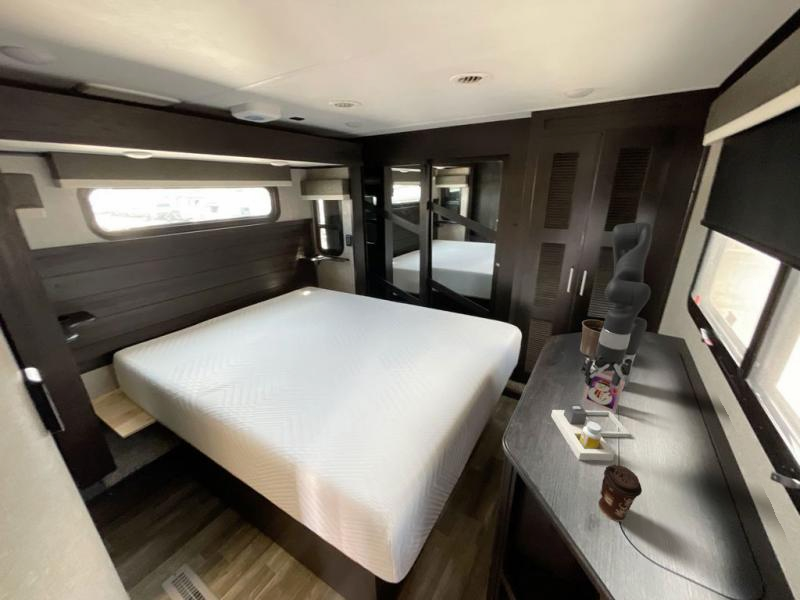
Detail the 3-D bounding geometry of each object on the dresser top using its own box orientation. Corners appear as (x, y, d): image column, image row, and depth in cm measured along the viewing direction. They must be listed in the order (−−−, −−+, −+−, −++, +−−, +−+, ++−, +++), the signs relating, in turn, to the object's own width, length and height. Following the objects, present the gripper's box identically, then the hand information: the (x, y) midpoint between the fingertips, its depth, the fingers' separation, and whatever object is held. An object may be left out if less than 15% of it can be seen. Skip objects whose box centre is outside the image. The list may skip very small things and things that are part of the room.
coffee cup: (586, 495, 88) (597, 462, 83) (613, 493, 88) (625, 460, 84) (608, 526, 80) (621, 492, 75) (637, 524, 80) (652, 489, 76)
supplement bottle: (574, 444, 105) (580, 422, 101) (584, 439, 107) (591, 417, 103) (589, 456, 100) (596, 433, 97) (600, 450, 102) (607, 428, 99)
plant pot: (618, 361, 154) (626, 333, 148) (586, 361, 154) (593, 333, 148) (598, 345, 169) (606, 319, 163) (569, 345, 169) (576, 319, 163)
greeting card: (581, 401, 126) (590, 370, 120) (586, 392, 131) (594, 363, 125) (614, 414, 118) (624, 382, 113) (617, 405, 124) (628, 374, 118)
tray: (608, 413, 119) (609, 410, 118) (628, 437, 108) (630, 433, 107) (578, 413, 119) (579, 410, 118) (596, 436, 108) (597, 433, 108)
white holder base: (579, 416, 117) (584, 398, 114) (612, 460, 99) (619, 440, 96) (551, 416, 117) (555, 398, 114) (578, 459, 99) (584, 439, 96)
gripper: (627, 336, 98) (615, 377, 104) (583, 336, 98) (573, 378, 104) (645, 348, 91) (630, 392, 97) (597, 349, 91) (586, 392, 97)
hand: (601, 385), depth 100 cm, fingers open, 8 cm apart
